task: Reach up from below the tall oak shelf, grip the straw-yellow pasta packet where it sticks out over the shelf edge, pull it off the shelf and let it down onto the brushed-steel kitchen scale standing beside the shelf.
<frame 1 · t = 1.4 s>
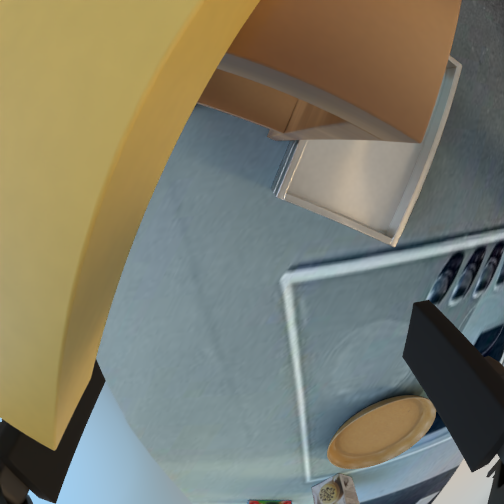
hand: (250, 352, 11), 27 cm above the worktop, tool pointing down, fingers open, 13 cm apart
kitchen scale: (365, 120, 33), on the worktop
yogurt: (269, 500, 64), on the worktop
plant saucer: (379, 426, 53), on the worktop
coffee box: (331, 481, 61), on the worktop
shelf: (249, 69, 31), on the worktop
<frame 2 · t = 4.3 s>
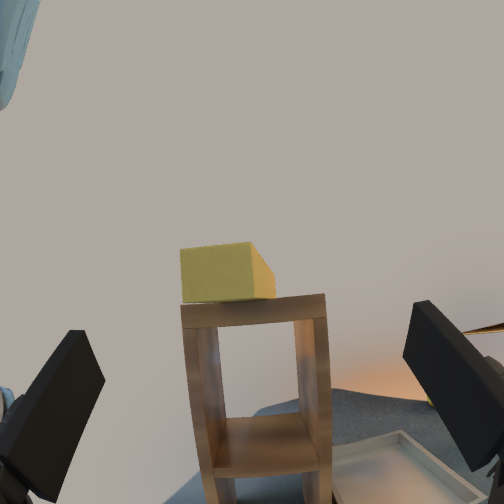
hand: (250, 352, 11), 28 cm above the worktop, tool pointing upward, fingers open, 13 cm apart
pasta packet: (247, 300, 27), point 30 cm above the worktop, touching shelf
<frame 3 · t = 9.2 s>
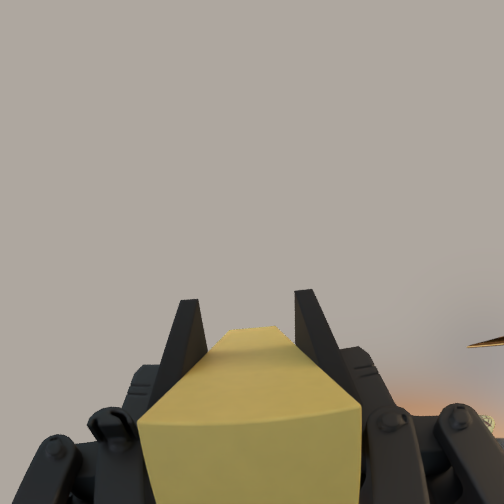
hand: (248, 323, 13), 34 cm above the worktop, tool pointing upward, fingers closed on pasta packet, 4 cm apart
pasta packet: (256, 398, 15), point 30 cm above the worktop, touching gripper, shelf
decorated donut: (471, 436, 44), on the worktop
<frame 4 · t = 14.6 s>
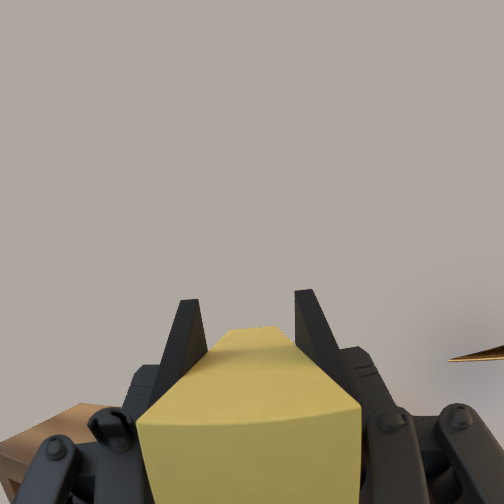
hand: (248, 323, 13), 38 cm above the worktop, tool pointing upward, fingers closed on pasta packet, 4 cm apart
pasta packet: (256, 398, 15), point 34 cm above the worktop, touching gripper
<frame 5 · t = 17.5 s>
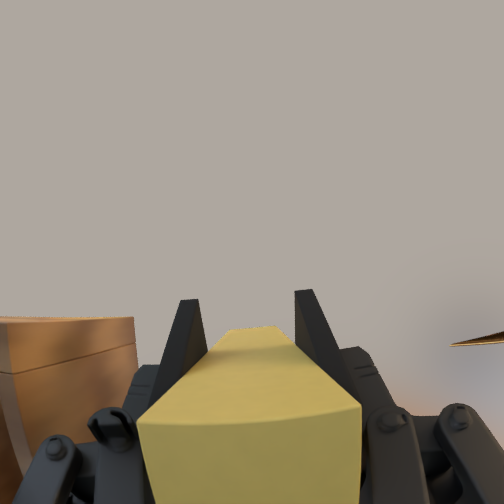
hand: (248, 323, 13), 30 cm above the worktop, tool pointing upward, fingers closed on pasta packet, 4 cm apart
pasta packet: (256, 398, 15), point 25 cm above the worktop, touching gripper
when the fingers open (22 cm above the worktop, at t = 20.1 s): pasta packet drops 14 cm, resting on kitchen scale.
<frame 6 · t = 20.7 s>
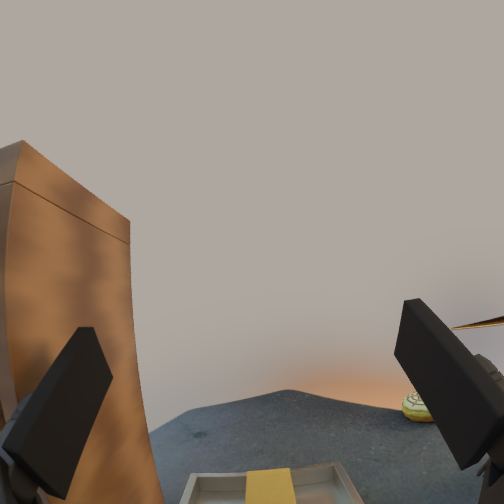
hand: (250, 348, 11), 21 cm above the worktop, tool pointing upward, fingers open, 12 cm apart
decorated donut: (431, 414, 41), on the worktop
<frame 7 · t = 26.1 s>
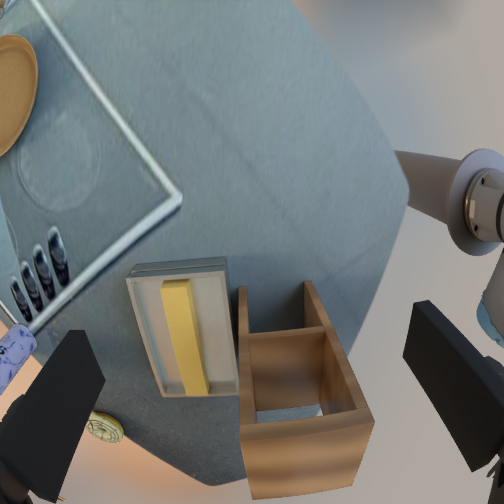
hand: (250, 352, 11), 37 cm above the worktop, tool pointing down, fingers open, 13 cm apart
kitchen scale: (191, 326, 53), on the worktop
pasta packet: (188, 338, 50), point 4 cm above the worktop, touching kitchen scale
decorated donut: (105, 421, 63), on the worktop
aerosol can: (24, 337, 54), on the worktop
plant saucer: (1, 97, 37), on the worktop
coffee box: (1, 1, 28), on the worktop
shelf: (276, 319, 53), on the worktop
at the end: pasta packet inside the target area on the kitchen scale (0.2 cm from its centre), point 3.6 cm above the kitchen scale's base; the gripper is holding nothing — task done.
